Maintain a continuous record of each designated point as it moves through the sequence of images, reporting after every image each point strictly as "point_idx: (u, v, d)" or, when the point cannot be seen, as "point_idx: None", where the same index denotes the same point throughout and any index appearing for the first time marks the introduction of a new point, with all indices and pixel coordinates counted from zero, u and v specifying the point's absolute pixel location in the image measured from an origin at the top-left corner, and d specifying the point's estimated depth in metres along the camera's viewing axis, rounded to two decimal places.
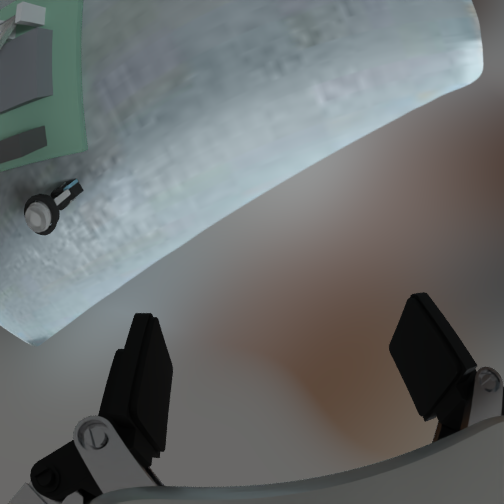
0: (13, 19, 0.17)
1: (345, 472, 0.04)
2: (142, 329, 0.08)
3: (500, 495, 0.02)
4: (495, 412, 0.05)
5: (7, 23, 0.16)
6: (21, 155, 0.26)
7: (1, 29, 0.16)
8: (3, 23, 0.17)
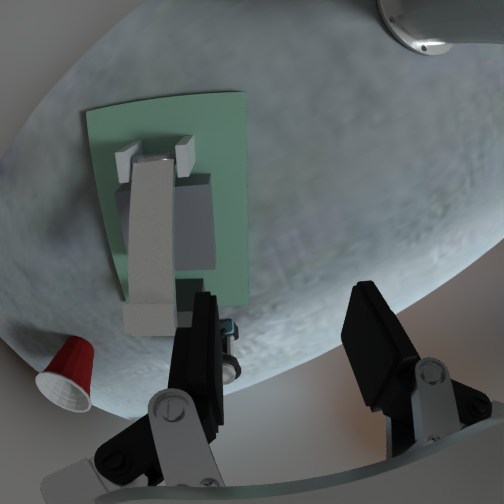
0: (170, 166, 0.25)
1: (345, 472, 0.04)
2: (206, 305, 0.09)
3: (500, 495, 0.02)
4: (435, 406, 0.06)
5: (161, 171, 0.25)
6: None
7: (153, 179, 0.25)
8: (146, 162, 0.25)
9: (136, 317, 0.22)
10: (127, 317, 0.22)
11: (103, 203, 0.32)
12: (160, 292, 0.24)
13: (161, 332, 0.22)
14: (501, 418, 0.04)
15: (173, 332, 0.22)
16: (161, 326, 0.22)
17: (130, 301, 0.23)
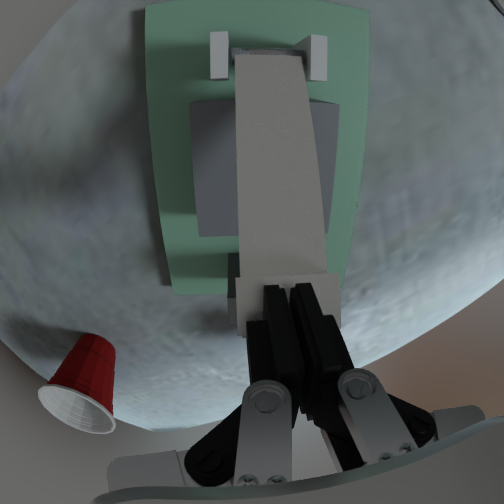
0: (297, 64, 0.15)
1: (345, 472, 0.04)
2: (278, 298, 0.10)
3: (500, 495, 0.02)
4: (354, 423, 0.06)
5: (285, 69, 0.15)
6: None
7: (273, 77, 0.15)
8: (258, 55, 0.15)
9: None
10: (246, 303, 0.12)
11: (155, 134, 0.22)
12: (303, 254, 0.13)
13: None
14: (501, 418, 0.04)
15: (338, 326, 0.12)
16: None
17: (243, 272, 0.13)
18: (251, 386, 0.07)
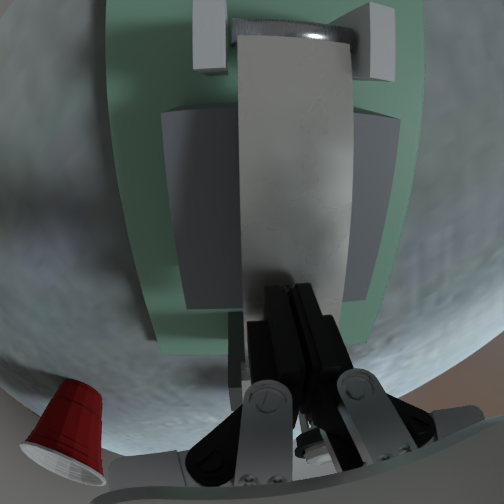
0: (342, 60, 0.08)
1: (345, 472, 0.04)
2: (279, 298, 0.10)
3: (500, 495, 0.02)
4: (353, 424, 0.06)
5: (323, 69, 0.08)
6: None
7: (301, 86, 0.09)
8: (278, 39, 0.08)
9: None
10: None
11: (122, 157, 0.15)
12: None
13: None
14: (501, 418, 0.04)
15: None
16: None
17: (248, 359, 0.12)
18: (252, 386, 0.07)
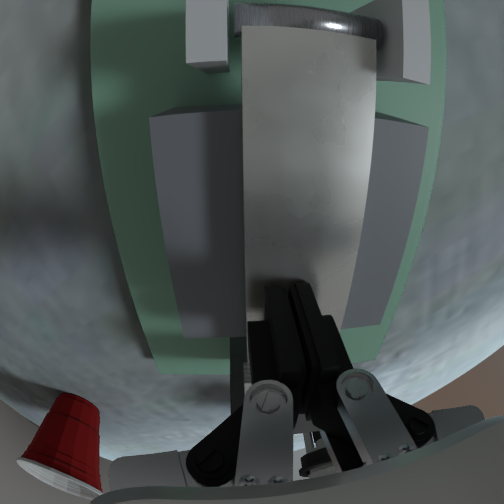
0: (367, 59, 0.07)
1: (345, 472, 0.04)
2: (280, 298, 0.10)
3: (500, 495, 0.02)
4: (353, 424, 0.06)
5: (343, 70, 0.07)
6: None
7: (317, 90, 0.07)
8: (291, 31, 0.06)
9: None
10: None
11: (109, 166, 0.13)
12: None
13: None
14: (501, 418, 0.04)
15: None
16: None
17: None
18: (253, 386, 0.07)
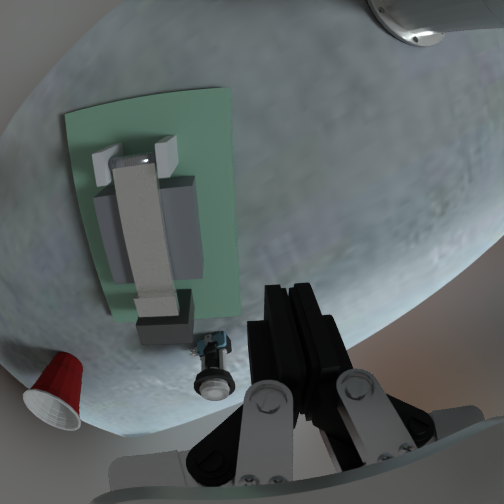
0: (151, 171, 0.24)
1: (345, 472, 0.04)
2: (280, 298, 0.10)
3: (500, 495, 0.02)
4: (352, 424, 0.06)
5: (144, 178, 0.24)
6: (191, 341, 0.32)
7: (137, 186, 0.24)
8: (126, 168, 0.23)
9: (146, 306, 0.29)
10: (139, 307, 0.29)
11: (84, 211, 0.30)
12: (162, 283, 0.29)
13: (168, 314, 0.29)
14: (501, 418, 0.04)
15: (177, 314, 0.30)
16: (167, 311, 0.29)
17: (138, 290, 0.29)
18: (253, 386, 0.07)
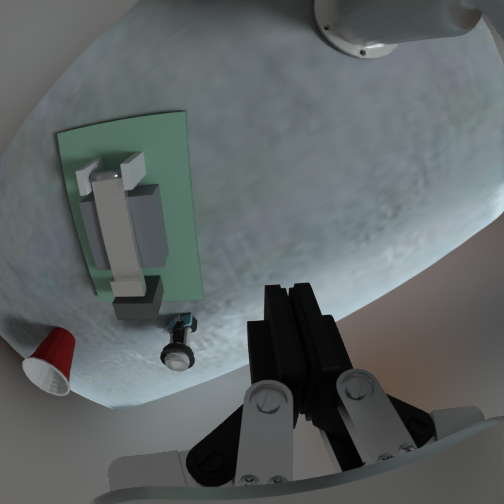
0: (120, 184, 0.30)
1: (345, 472, 0.04)
2: (280, 298, 0.10)
3: (500, 495, 0.02)
4: (353, 424, 0.06)
5: (115, 189, 0.30)
6: (156, 318, 0.39)
7: (110, 195, 0.31)
8: (102, 181, 0.30)
9: (119, 288, 0.36)
10: (114, 288, 0.36)
11: (74, 210, 0.36)
12: (131, 270, 0.36)
13: (136, 295, 0.36)
14: (501, 418, 0.04)
15: (143, 295, 0.36)
16: (135, 292, 0.36)
17: (114, 275, 0.36)
18: (253, 386, 0.07)
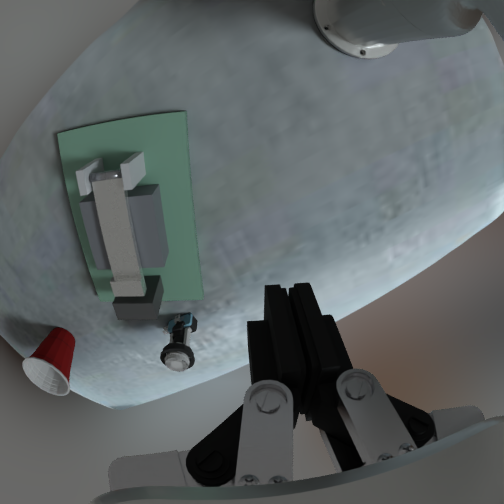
0: (120, 184, 0.30)
1: (345, 472, 0.04)
2: (280, 298, 0.10)
3: (500, 495, 0.02)
4: (353, 424, 0.06)
5: (115, 189, 0.30)
6: (156, 318, 0.39)
7: (110, 195, 0.31)
8: (102, 181, 0.30)
9: (119, 288, 0.36)
10: (114, 288, 0.36)
11: (74, 210, 0.36)
12: (131, 270, 0.36)
13: (136, 295, 0.36)
14: (501, 418, 0.04)
15: (143, 295, 0.36)
16: (135, 292, 0.36)
17: (114, 275, 0.36)
18: (253, 386, 0.07)
